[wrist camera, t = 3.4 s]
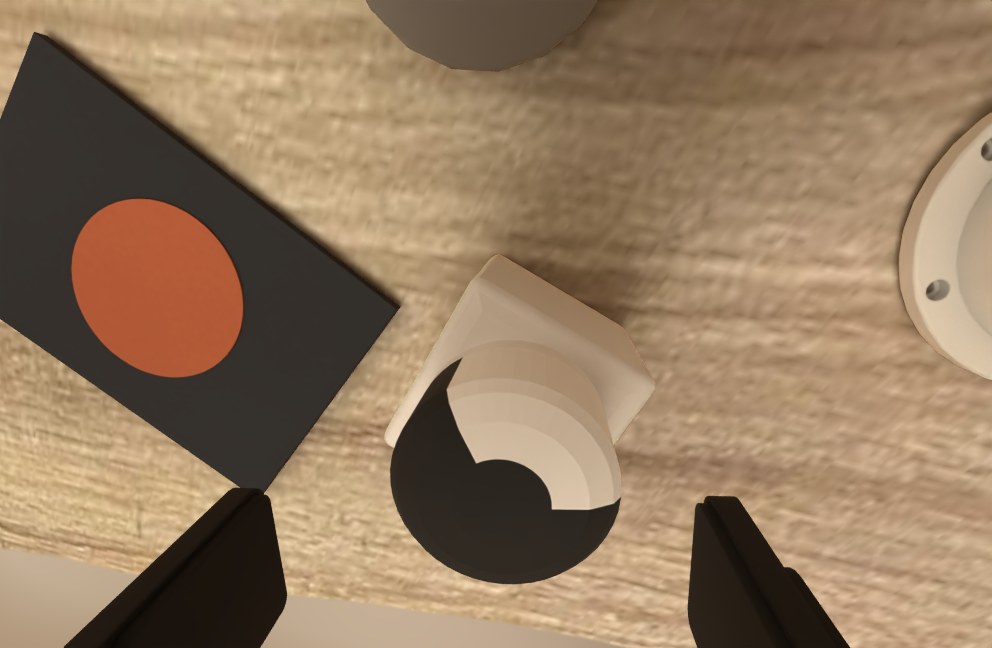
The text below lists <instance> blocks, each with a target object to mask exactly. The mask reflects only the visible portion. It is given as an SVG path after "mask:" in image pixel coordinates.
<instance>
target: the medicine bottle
mask: <svg viewBox="0 0 992 648" xmlns="http://www.w3.org/2000/svg"><path fill="white" fill-rule="evenodd" d="M655 386H656V385H655V380H654V378H653V377H652V375H651V373H650V372H649V370H648V368H647V367H646V365H645V363H644V362H643V360H642V358H641V357H640V355H639V353H638V352H637V350H636V348H635V347H634V345H633V343H632V342H631V340H630V338H629V337H628V335H627V333H626V332H625V330H624V328H623V327H622V326H620V325H619V324H617V323H615V322H614V321H612V320H610V319H609V318H607V317H605V316H604V315H602V314H600V313H598V312H597V311H595V310H593V309H592V308H590V307H588V306H587V305H585V304H583V303H582V302H580V301H578V300H577V299H575V298H573V297H571V296H570V295H568V294H566V293H565V292H563V291H561V290H560V289H558V288H556V287H555V286H553V285H551V284H550V283H548V282H546V281H544V280H543V279H541V278H539V277H538V276H536V275H534V274H533V273H531V272H529V271H528V270H526V269H524V268H522V267H521V266H519V265H517V264H516V263H514V262H512V261H511V260H509V259H507V258H506V257H504V256H502V255H499V254H497V255H494V256H493V257H492V258H491V259H490V260H489V261H488V262H487V263H486V264H485V266H484V267H483V268H482V269H481V270H480V271H479V272H478V274H477V275H476V276H475V277H474V278H473V279H472V281H471V282H470V283H469V285H468V286H467V288H466V290H465V292H464V294H463V295H462V297H461V299H460V301H459V302H458V304H457V306H456V308H455V309H454V311H453V313H452V315H451V316H450V318H449V320H448V322H447V323H446V325H445V327H444V329H443V331H442V332H441V334H440V336H439V338H438V339H437V341H436V343H435V345H434V346H433V348H432V350H431V352H430V353H429V355H428V357H427V359H426V361H425V362H424V364H423V366H422V368H421V369H420V371H419V373H418V375H417V376H416V378H415V380H414V382H413V383H412V385H411V387H410V389H409V390H408V392H407V394H406V396H405V398H404V399H403V401H402V403H401V405H400V406H399V408H398V410H397V412H396V413H395V415H394V417H393V419H392V420H391V422H390V424H389V426H388V427H387V429H386V431H385V436H384V439H385V442H386V443H387V444H388V445H390V446H391V447H393V448H394V451H393V454H392V460H391V468H390V478H391V488H392V494H393V498H394V501H395V504H396V507H397V510H398V512H399V514H400V516H401V518H402V520H403V522H404V524H405V525H406V527H407V528H408V530H409V531H410V533H411V534H412V536H413V537H414V538H415V539H416V540H417V541H418V542H419V543H420V544H421V546H422V547H423V548H424V549H425V550H426V551H427V552H429V553H430V554H431V555H432V556H433V557H434V558H435V559H437V560H438V561H440V562H441V563H443V564H444V565H446V566H447V567H449V568H451V569H453V570H455V571H457V572H459V573H461V574H463V575H466V576H469V577H471V578H474V579H478V580H482V581H486V582H492V583H499V584H523V583H532V582H536V581H541V580H545V579H548V578H551V577H553V576H556V575H559V574H561V573H562V572H564V571H566V570H568V569H570V568H572V567H574V566H576V565H577V564H578V563H580V562H581V561H583V560H584V559H586V558H587V557H588V556H589V555H590V554H591V553H592V552H593V551H595V550H596V549H597V548H598V546H599V545H600V544H601V543H602V541H603V540H604V539H605V538H606V536H607V534H608V533H609V531H610V529H611V527H612V526H613V524H614V521H615V518H616V516H617V513H618V510H619V505H620V500H621V487H622V481H621V473H620V467H619V463H618V459H617V456H616V452H615V449H614V444H615V443H616V442H617V440H618V439H619V437H620V436H621V435H622V433H623V432H624V431H625V429H626V428H627V427H628V425H629V424H630V423H631V421H632V420H633V419H634V417H635V416H636V415H637V413H638V412H639V411H640V409H641V408H642V407H643V405H644V404H645V403H646V401H647V400H648V399H649V397H650V396H651V395H652V393H653V392H654V389H655Z"/></svg>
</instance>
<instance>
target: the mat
mask: <svg viewBox="0 0 992 648" xmlns="http://www.w3.org/2000/svg"><path fill="white" fill-rule="evenodd" d="M399 308H400V306H399V305H398V304H396V303H395V302H394V301H392V300H391V299H390V298H389V297H387V296H386V295H385V294H383V293H382V292H381V291H379V290H378V289H377V288H376V287H374V286H373V285H372V284H370V283H369V282H368V281H366V280H365V279H364V278H362V277H361V276H360V275H359V274H357V273H356V272H355V271H353V270H352V269H351V268H349V267H348V266H347V265H345V264H344V263H343V262H342V261H340V260H339V259H338V258H336V257H335V256H334V255H332V254H331V253H330V252H328V251H327V250H326V249H325V248H323V247H322V246H321V245H319V244H318V243H317V242H315V241H314V240H313V239H312V238H310V237H309V236H308V235H306V234H305V233H304V232H302V231H301V230H300V229H298V228H297V227H296V226H295V225H293V224H292V223H291V222H289V221H288V220H287V219H285V218H284V217H283V216H281V215H280V214H279V213H278V212H276V211H275V210H274V209H272V208H271V207H270V206H268V205H267V204H266V203H265V202H263V201H262V200H261V199H259V198H258V197H257V196H255V195H254V194H253V193H251V192H250V191H249V190H248V189H246V188H245V187H244V186H242V185H241V184H240V183H238V182H237V181H236V180H234V179H233V178H232V177H231V176H229V175H228V174H227V173H225V172H224V171H223V170H221V169H220V168H219V167H217V166H216V165H215V164H214V163H212V162H211V161H210V160H208V159H207V158H206V157H204V156H203V155H202V154H201V153H199V152H198V151H197V150H195V149H194V148H193V147H191V146H190V145H189V144H187V143H186V142H185V141H184V140H182V139H181V138H180V137H178V136H177V135H176V134H174V133H173V132H172V131H170V130H169V129H168V128H167V127H165V126H164V125H163V124H161V123H160V122H159V121H157V120H156V119H155V118H154V117H152V116H151V115H150V114H148V113H147V112H146V111H144V110H143V109H142V108H140V107H139V106H138V105H137V104H135V103H134V102H133V101H131V100H130V99H129V98H127V97H126V96H125V95H123V94H122V93H121V92H120V91H118V90H117V89H116V88H114V87H113V86H112V85H110V84H109V83H108V82H106V81H105V80H104V79H103V78H101V77H100V76H99V75H97V74H96V73H95V72H93V71H92V70H91V69H90V68H88V67H87V66H86V65H84V64H83V63H82V62H80V61H79V60H78V59H76V58H75V57H74V56H73V55H71V54H70V53H69V52H67V51H66V50H65V49H63V48H62V47H61V46H59V45H58V44H57V43H56V42H54V41H53V40H52V39H50V38H49V37H48V36H46V35H43V34H40V33H36V32H34V33H33V36H32V38H31V41H30V44H29V46H28V49H27V51H26V54H25V56H24V59H23V62H22V64H21V67H20V69H19V72H18V75H17V77H16V80H15V82H14V85H13V87H12V90H11V93H10V95H9V98H8V100H7V103H6V106H5V108H4V111H3V113H2V116H1V119H0V319H1V320H3V321H4V322H5V323H7V324H8V325H10V326H11V327H13V328H14V329H15V330H17V331H18V332H20V333H21V334H23V335H24V336H25V337H27V338H28V339H30V340H31V341H32V342H34V343H35V344H37V345H38V346H40V347H41V348H42V349H44V350H45V351H47V352H48V353H50V354H51V355H52V356H54V357H55V358H57V359H58V360H60V361H61V362H62V363H64V364H65V365H67V366H68V367H69V368H71V369H72V370H74V371H75V372H77V373H78V374H79V375H81V376H82V377H84V378H85V379H87V380H88V381H89V382H91V383H92V384H94V385H95V386H97V387H98V388H99V389H101V390H102V391H104V392H105V393H107V394H108V395H109V396H111V397H112V398H114V399H115V400H116V401H118V402H119V403H121V404H122V405H124V406H125V407H126V408H128V409H129V410H131V411H132V412H134V413H135V414H136V415H138V416H139V417H141V418H142V419H144V420H145V421H146V422H148V423H149V424H151V425H152V426H153V427H155V428H156V429H158V430H159V431H161V432H162V433H163V434H165V435H166V436H168V437H169V438H171V439H172V440H173V441H175V442H176V443H178V444H179V445H181V446H182V447H183V448H185V449H186V450H188V451H189V452H191V453H192V454H193V455H195V456H196V457H198V458H199V459H200V460H202V461H203V462H205V463H206V464H208V465H209V466H210V467H212V468H213V469H215V470H216V471H218V472H219V473H220V474H222V475H223V476H225V477H226V478H228V479H229V480H230V481H232V482H233V483H235V484H236V485H237V486H239V487H240V488H259V489H261V490H262V491H263V493H264V492H265V491H266V489H267V488H268V487H269V485H270V484H271V483H272V481H273V480H274V478H275V477H276V476H277V474H278V473H279V472H280V470H281V469H282V468H283V466H284V465H285V463H286V462H287V461H288V459H289V458H290V457H291V455H292V454H293V453H294V451H295V450H296V449H297V447H298V446H299V444H300V443H301V442H302V440H303V439H304V438H305V436H306V435H307V434H308V432H309V431H310V429H311V428H312V427H313V425H314V424H315V423H316V421H317V420H318V419H319V417H320V416H321V414H322V413H323V412H324V410H325V409H326V408H327V406H328V405H329V404H330V402H331V401H332V400H333V398H334V397H335V395H336V394H337V393H338V391H339V390H340V389H341V387H342V386H343V385H344V383H345V382H346V380H347V379H348V378H349V376H350V375H351V374H352V372H353V371H354V370H355V368H356V367H357V365H358V364H359V363H360V361H361V360H362V359H363V357H364V356H365V355H366V353H367V352H368V350H369V349H370V348H371V346H372V345H373V344H374V342H375V341H376V340H377V338H378V337H379V336H380V334H381V333H382V331H383V330H384V329H385V327H386V326H387V325H388V323H389V322H390V321H391V319H392V318H393V316H394V315H395V314H396V312H397V311H398V310H399Z"/></svg>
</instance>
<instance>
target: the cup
mask: <svg viewBox="0 0 992 648" xmlns="http://www.w3.org/2000/svg"><path fill="white" fill-rule="evenodd" d="M366 1H367V3H368V5H369V7H370V9H371V10H372V11H373V12H374V13H375V14H376V15H377V16H378V17H379V18H380V19H381V20H382V21H383V23H384V24H385V25H386V26H387V27H388V28H389V29H390V30H391V31H392V32H393V33H394V34H395V35H396V36H397V37H398V38H399V39H400V40H401V41H402V42H403V43H404V44H405V45H406V46H407V47H408V48H409V49H411V50H413V51H415V52H417V53H420V54H422V55H424V56H426V57H428V58H430V59H432V60H434V61H437V62H439V63H441V64H443V65H445V66H447V67H449V68H451V69H462V70H480V71H501V70H504V69H507V68H510V67H513V66H516V65H519V64H522V63H525V62H528V61H531V60H534V59H537V58H540V57H542V56H544V55H545V54H546V53H548V52H549V51H550V50H551V49H553V48H554V47H555V46H556V45H558V44H559V43H560V42H561V41H562V40H564V39H565V38H566V37H567V36H569V35H570V34H571V33H572V32H574V31H575V30H576V29H577V28H578V27H580V26H581V25H582V24H583V23H584V22H585V20H586V18H587V17H588V15H589V14H590V12H591V11H592V9H593V7H594V6H595V4H596V3H597V1H598V0H366Z"/></svg>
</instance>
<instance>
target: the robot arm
mask: <svg viewBox="0 0 992 648" xmlns="http://www.w3.org/2000/svg"><path fill="white" fill-rule="evenodd" d="M899 279H900V289H901V292H902V296H903V299H904V303H905V306H906V310H907V312H908V314H909V316H910V318H911V320H912V321H913V323H914V325H915V327H916V328H917V330H918V332H919V334H920V335H921V336H922V337H923V338H924V339H925V340H926V341H927V342H928V343H929V344H930V345H931V347H932V348H933V349H934V350H935V351H936V352H937V353H939V354H940V355H942V356H943V357H945V358H946V359H948V360H949V361H951V362H952V363H954V364H955V365H957V366H958V367H961V368H963V369H966V370H968V371H970V372H972V373H975V374H977V375H979V376H981V377H984V378H986V379H989V380H992V112H991V113H989V114H988V115H986V116H985V117H983V118H982V119H980V120H979V121H978V122H977V123H976V124H975V125H974V126H973V127H972V128H971V129H969V130H968V131H967V132H966V133H965V134H964V135H963V136H962V137H961V138H960V139H958V140H957V141H956V142H955V143H954V144H953V145H952V146H951V147H950V149H949V150H948V151H947V152H946V154H945V155H944V156H943V157H942V159H941V160H940V161H939V162H938V164H937V165H936V166H935V167H934V168H933V170H932V171H931V172H930V174H929V176H928V177H927V179H926V181H925V183H924V184H923V186H922V188H921V190H920V191H919V193H918V195H917V197H916V198H915V200H914V202H913V205H912V208H911V210H910V213H909V216H908V219H907V221H906V224H905V227H904V230H903V234H902V241H901V247H900V253H899ZM286 600H287V590H286V584H285V579H284V573H283V568H282V562H281V557H280V551H279V546H278V540H277V535H276V529H275V524H274V518H273V513H272V507H271V502H270V498H269V497H268V496H267V495H264V493H263V491H262V490H261V489H259V488H232V489H231V490H229V491H228V492H227V493H226V494H225V495H224V496H223V497H222V498H221V499H220V500H219V501H217V502H216V503H215V504H214V505H213V506H212V507H211V508H210V509H209V510H208V511H207V512H206V513H205V514H204V515H203V516H202V517H201V518H199V519H198V520H197V521H196V522H195V523H194V524H193V525H192V526H191V527H190V528H189V529H188V530H187V531H186V532H185V533H184V534H183V535H181V536H180V537H179V538H178V539H177V540H176V541H175V542H174V543H173V544H172V545H171V546H170V547H169V548H168V549H167V550H166V551H165V552H164V553H162V554H161V555H160V556H159V557H158V558H157V559H156V560H155V561H154V562H153V563H152V564H151V565H150V566H149V567H148V568H147V569H146V570H144V571H143V572H142V573H141V574H140V575H139V576H138V577H137V578H136V579H135V580H134V581H133V582H132V583H131V584H130V585H129V586H128V587H126V588H125V590H123V591H122V592H121V593H120V594H119V595H118V596H117V597H116V598H115V599H114V600H113V601H112V602H111V603H110V604H109V605H107V606H106V607H105V608H104V609H103V610H102V611H101V612H100V613H99V614H98V615H97V616H96V617H95V618H94V619H93V620H92V621H91V622H89V623H88V624H87V625H86V626H85V627H84V628H83V629H82V630H81V631H80V632H79V633H78V634H77V635H76V636H75V637H74V638H73V639H72V640H70V641H69V642H68V643H67V644H66V645H65V646H64V648H260V647H261V645H262V644H263V642H264V641H265V639H266V637H267V636H268V634H269V633H270V631H271V629H272V628H273V626H274V624H275V623H276V621H277V620H278V618H279V616H280V615H281V613H282V611H283V609H284V607H285V604H286ZM688 619H689V624H690V628H691V631H692V634H693V637H694V639H695V642H696V645H697V648H850V647H849V645H848V644H847V643H846V641H845V640H844V638H843V637H842V635H841V634H840V632H839V631H838V630H837V628H836V627H835V625H834V624H833V622H832V621H831V619H830V618H829V617H828V615H827V614H826V612H825V611H824V609H823V608H822V607H821V605H820V604H819V602H818V601H817V599H816V598H815V596H814V595H813V594H812V592H811V591H810V589H809V588H808V586H807V585H806V583H805V582H804V581H803V579H802V578H801V576H800V575H799V574H798V573H797V572H796V571H795V570H794V569H792V568H790V567H783V565H782V564H781V562H780V561H779V559H778V558H777V556H776V555H775V553H774V552H773V550H772V549H771V547H770V546H769V544H768V543H767V541H766V540H765V538H764V537H763V535H762V534H761V532H760V531H759V529H758V528H757V526H756V525H755V523H754V522H753V520H752V519H751V517H750V516H749V514H748V513H747V511H746V510H745V508H744V507H743V505H742V504H741V502H740V501H739V499H738V498H737V497H734V496H707V497H706V498H705V500H704V503H698V504H697V505H696V508H695V519H694V532H693V545H692V558H691V571H690V584H689V597H688Z"/></svg>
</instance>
